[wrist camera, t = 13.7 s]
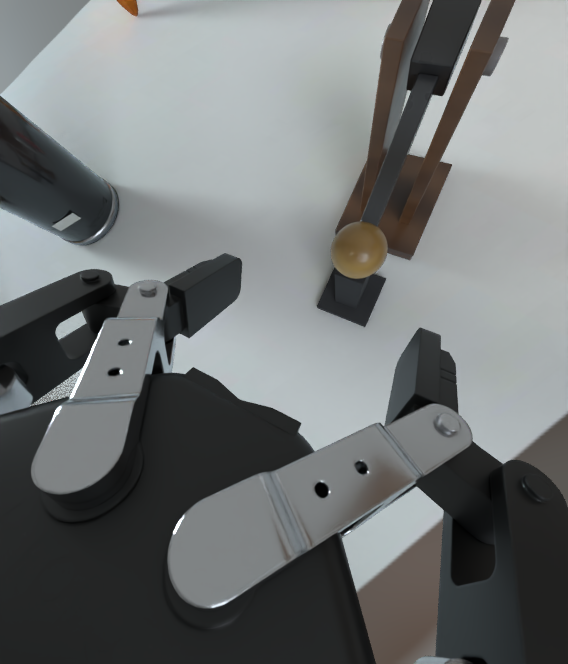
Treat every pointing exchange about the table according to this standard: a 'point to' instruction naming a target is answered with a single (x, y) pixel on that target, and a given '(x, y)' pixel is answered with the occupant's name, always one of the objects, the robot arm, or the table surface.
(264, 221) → the table surface
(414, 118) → the lever with ball knob
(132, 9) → the carrot
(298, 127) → the table surface
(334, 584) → the robot arm
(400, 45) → the brown wooden upright frame
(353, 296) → the stop post
